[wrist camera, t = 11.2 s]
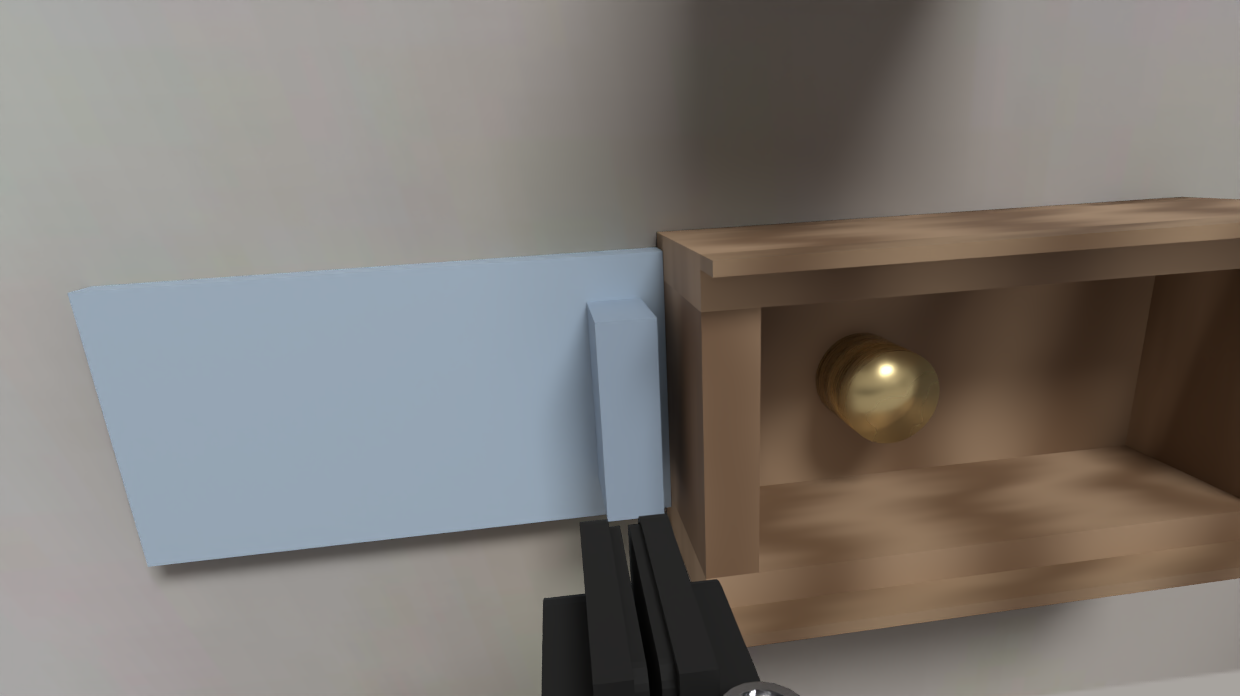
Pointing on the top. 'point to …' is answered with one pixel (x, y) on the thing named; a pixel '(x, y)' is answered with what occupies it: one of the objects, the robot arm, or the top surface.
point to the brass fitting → (877, 387)
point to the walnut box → (957, 411)
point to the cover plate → (383, 400)
